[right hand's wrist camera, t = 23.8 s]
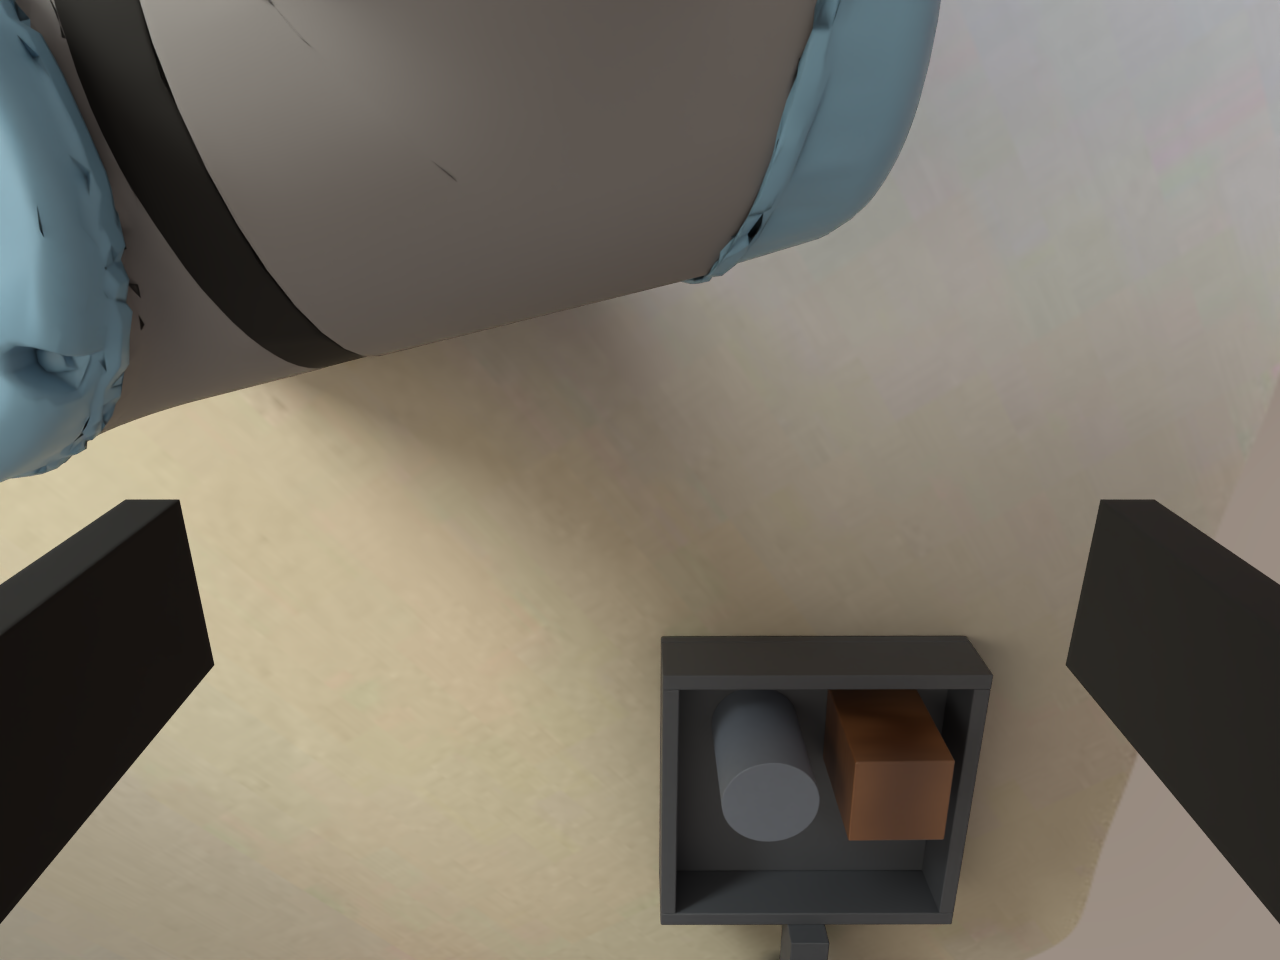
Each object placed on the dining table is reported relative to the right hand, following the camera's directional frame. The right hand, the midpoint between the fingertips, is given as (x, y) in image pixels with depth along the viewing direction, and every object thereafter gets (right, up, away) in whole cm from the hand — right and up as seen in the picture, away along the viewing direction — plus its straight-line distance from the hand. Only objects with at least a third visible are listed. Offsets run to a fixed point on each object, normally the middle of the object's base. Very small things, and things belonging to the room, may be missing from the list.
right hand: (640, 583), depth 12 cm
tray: (+9, -18, +36) cm, 41 cm away
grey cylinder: (+6, -11, +32) cm, 35 cm away
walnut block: (+12, -11, +32) cm, 36 cm away
